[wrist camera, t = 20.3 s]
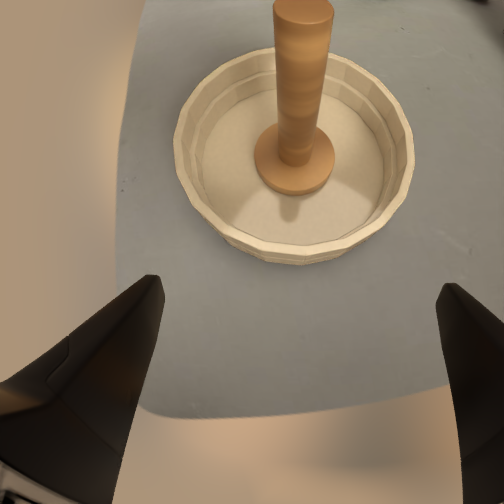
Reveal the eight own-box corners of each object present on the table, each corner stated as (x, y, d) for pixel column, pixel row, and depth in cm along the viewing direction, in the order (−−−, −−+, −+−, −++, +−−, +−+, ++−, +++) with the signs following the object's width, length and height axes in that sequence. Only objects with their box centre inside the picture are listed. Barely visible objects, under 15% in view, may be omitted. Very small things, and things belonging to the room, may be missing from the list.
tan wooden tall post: (348, 172, 23) (409, 32, 9) (281, 210, 23) (282, 77, 9) (304, 116, 24) (316, -35, 10) (241, 149, 24) (201, -1, 10)
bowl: (389, 276, 22) (415, 268, 17) (175, 251, 24) (150, 238, 19) (387, 97, 25) (402, 64, 20) (212, 80, 26) (201, 44, 22)
